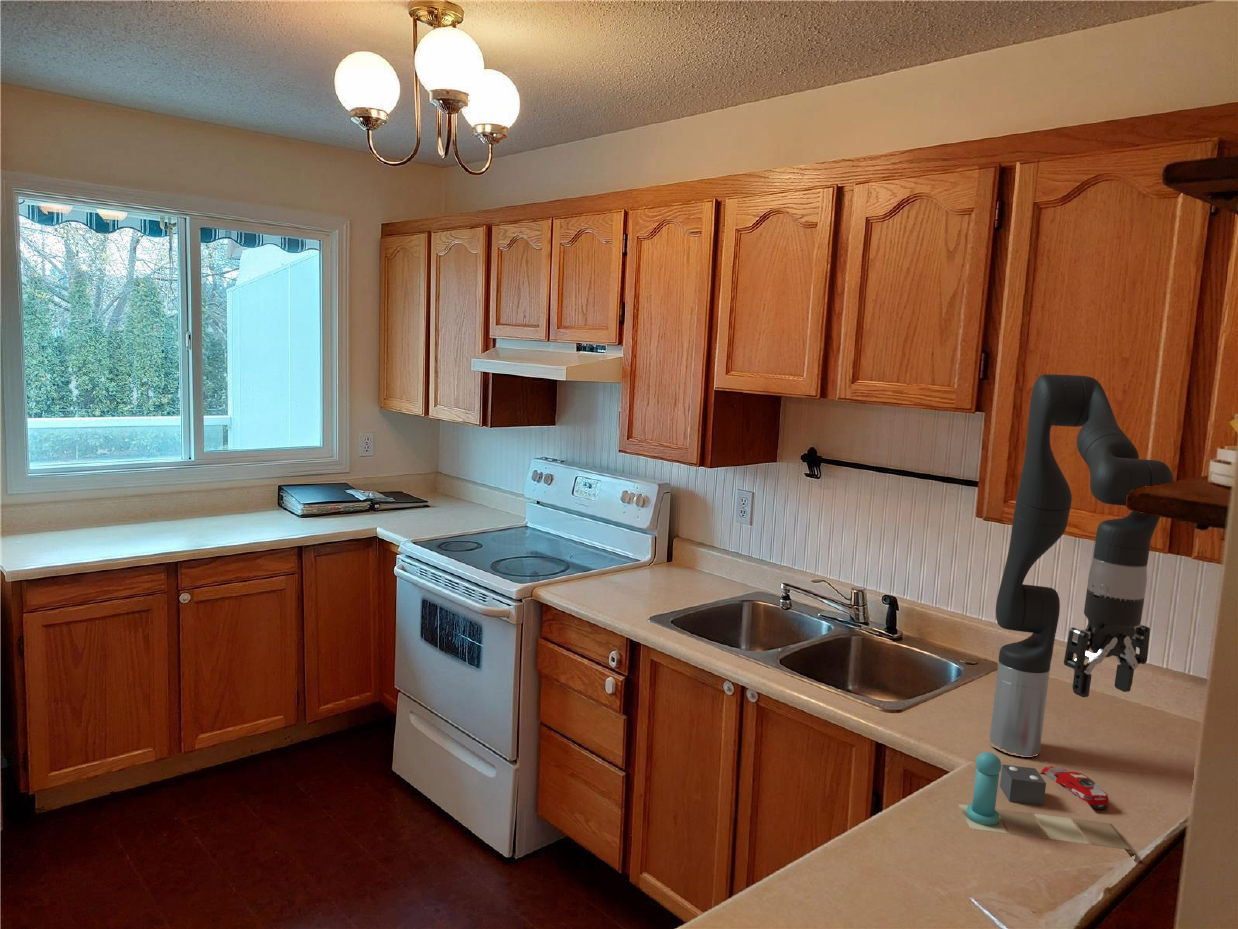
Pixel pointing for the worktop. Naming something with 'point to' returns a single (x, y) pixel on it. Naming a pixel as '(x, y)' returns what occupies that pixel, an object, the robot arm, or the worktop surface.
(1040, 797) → the die
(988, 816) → the pawn
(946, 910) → the worktop surface
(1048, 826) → the track board
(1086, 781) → the race car
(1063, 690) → the worktop surface
